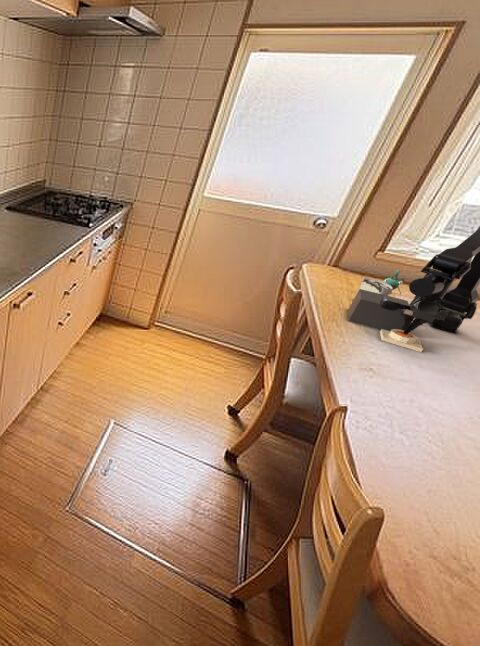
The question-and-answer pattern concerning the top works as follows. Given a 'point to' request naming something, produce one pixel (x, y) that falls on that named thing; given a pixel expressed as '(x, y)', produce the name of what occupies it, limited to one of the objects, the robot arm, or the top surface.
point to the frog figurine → (394, 281)
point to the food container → (375, 286)
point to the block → (401, 339)
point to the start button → (404, 334)
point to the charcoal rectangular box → (374, 312)
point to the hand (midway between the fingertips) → (405, 333)
